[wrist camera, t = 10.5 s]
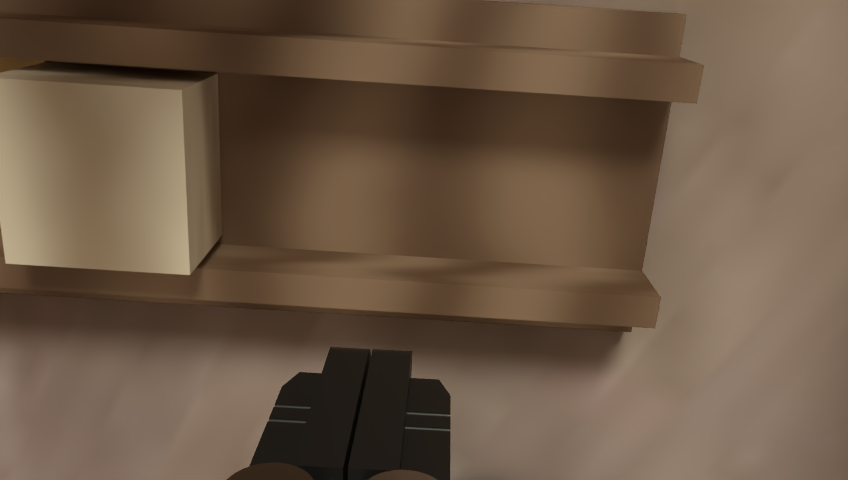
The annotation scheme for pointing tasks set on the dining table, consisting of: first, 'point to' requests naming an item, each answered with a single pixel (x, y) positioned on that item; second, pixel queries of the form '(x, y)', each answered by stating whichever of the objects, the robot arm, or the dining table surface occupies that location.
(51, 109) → the birch block
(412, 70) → the chute
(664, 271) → the dining table surface
